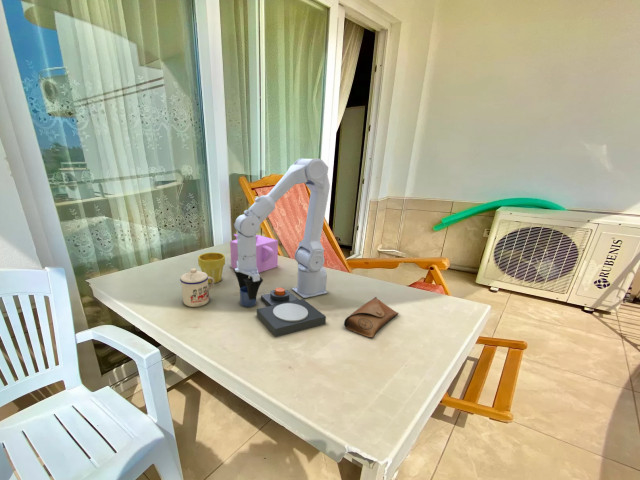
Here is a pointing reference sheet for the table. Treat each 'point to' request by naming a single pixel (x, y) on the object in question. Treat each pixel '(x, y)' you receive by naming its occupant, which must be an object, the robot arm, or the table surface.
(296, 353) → the table surface
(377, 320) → the sunglasses case
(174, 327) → the table surface
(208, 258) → the flower pot
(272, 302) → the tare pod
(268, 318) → the scale
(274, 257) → the teapot
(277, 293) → the button
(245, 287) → the blue cup
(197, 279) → the teacup with lid
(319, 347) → the table surface
